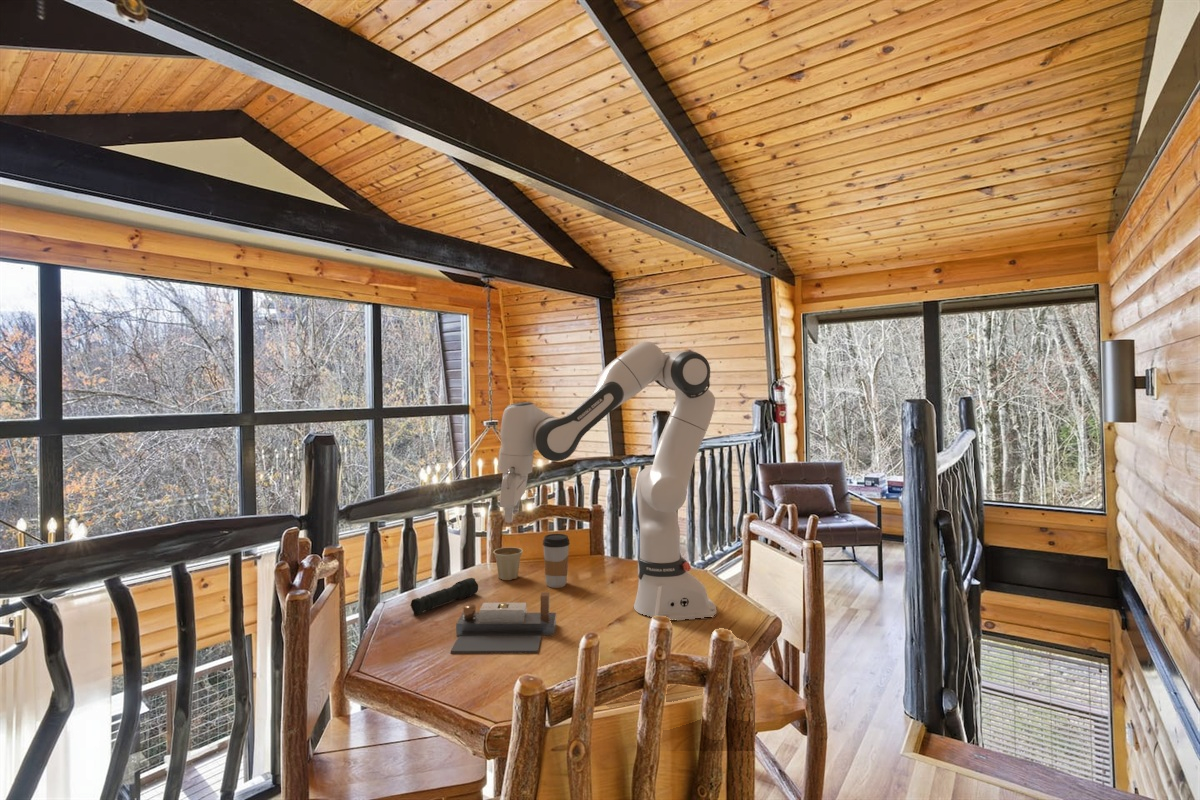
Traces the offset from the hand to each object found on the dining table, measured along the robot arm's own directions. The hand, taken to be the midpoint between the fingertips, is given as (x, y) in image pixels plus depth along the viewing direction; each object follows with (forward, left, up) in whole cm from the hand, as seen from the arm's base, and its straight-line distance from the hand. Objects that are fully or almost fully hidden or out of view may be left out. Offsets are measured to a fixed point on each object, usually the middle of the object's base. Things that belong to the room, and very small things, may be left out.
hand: (511, 517), depth 149 cm
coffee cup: (-9, -30, -28) cm, 42 cm away
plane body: (+1, +4, -27) cm, 28 cm away
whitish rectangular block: (+2, +4, -24) cm, 25 cm away
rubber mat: (+2, +13, -27) cm, 31 cm away
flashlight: (+21, -14, -28) cm, 37 cm away
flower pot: (+7, -37, -28) cm, 46 cm away
